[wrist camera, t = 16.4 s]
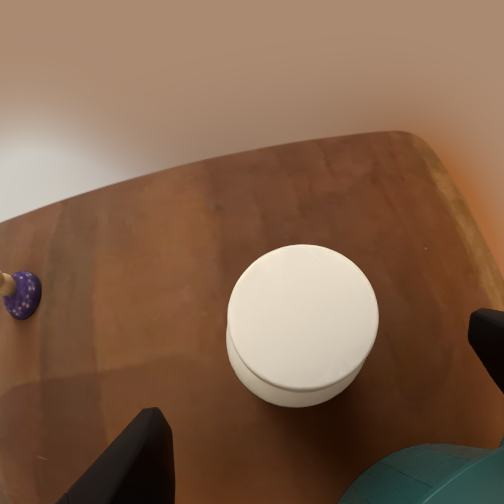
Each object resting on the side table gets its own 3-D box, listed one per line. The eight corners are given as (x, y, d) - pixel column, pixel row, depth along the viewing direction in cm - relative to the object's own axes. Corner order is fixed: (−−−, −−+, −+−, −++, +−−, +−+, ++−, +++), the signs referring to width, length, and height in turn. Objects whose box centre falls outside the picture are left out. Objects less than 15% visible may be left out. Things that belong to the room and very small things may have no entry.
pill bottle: (228, 341, 19) (178, 279, 10) (309, 297, 20) (328, 202, 11) (274, 422, 16) (264, 443, 8) (358, 372, 17) (427, 337, 8)
